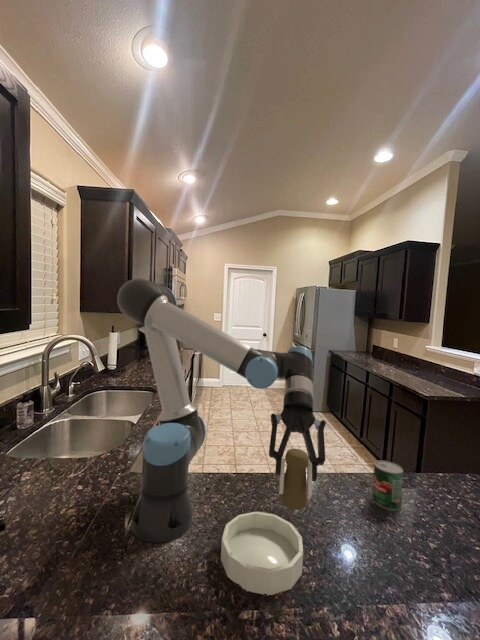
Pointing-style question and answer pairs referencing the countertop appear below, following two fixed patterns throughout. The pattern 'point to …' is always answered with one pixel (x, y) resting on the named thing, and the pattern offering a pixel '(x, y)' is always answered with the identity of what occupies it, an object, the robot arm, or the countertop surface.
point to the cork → (295, 479)
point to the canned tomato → (387, 485)
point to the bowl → (262, 553)
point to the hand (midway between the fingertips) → (295, 494)
